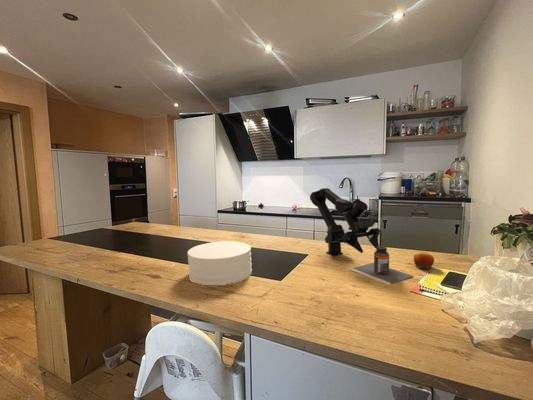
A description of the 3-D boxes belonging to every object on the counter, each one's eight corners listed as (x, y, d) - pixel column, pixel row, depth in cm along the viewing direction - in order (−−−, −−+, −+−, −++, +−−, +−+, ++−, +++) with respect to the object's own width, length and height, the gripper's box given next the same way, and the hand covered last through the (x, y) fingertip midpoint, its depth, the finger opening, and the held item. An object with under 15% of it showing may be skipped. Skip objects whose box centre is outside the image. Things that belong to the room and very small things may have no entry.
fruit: (413, 267, 118) (413, 249, 121) (413, 271, 124) (413, 254, 127) (435, 269, 114) (435, 251, 117) (433, 273, 121) (433, 256, 124)
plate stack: (241, 288, 106) (240, 260, 105) (176, 284, 112) (175, 257, 111) (257, 264, 133) (257, 241, 132) (205, 262, 139) (204, 240, 138)
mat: (349, 269, 121) (349, 268, 121) (373, 263, 129) (373, 262, 129) (388, 285, 104) (388, 284, 104) (413, 276, 111) (413, 275, 111)
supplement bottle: (372, 270, 119) (373, 245, 118) (387, 270, 118) (387, 245, 116) (375, 275, 113) (375, 248, 112) (390, 275, 112) (390, 249, 111)
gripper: (346, 214, 120) (363, 244, 111) (378, 211, 127) (396, 239, 118) (335, 228, 128) (350, 257, 119) (366, 224, 135) (382, 251, 126)
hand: (370, 251), depth 121 cm, fingers open, 9 cm apart
